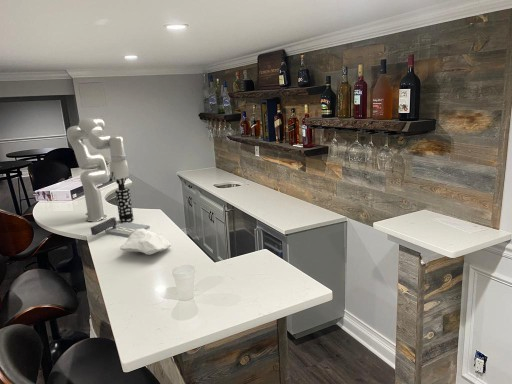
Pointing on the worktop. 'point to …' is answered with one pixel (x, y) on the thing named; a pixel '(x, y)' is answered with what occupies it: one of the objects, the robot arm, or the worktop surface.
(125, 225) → the label panel
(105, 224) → the swing arm
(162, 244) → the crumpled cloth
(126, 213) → the white-spotted black cylinder
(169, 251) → the worktop surface
